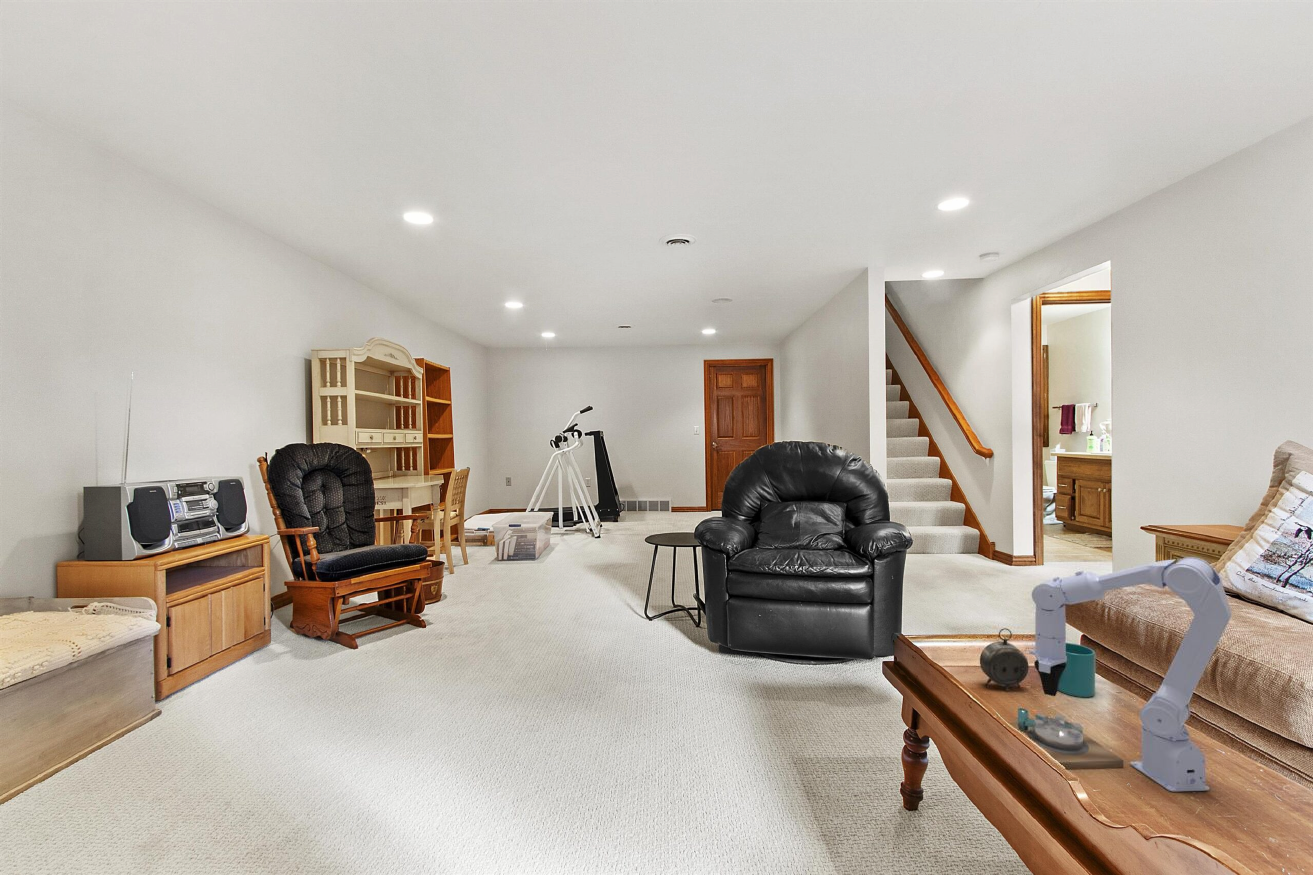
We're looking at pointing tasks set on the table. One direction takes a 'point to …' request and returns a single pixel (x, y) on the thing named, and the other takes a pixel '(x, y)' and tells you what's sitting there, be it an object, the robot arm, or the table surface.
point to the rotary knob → (1052, 730)
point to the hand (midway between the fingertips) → (1050, 694)
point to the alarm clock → (1004, 663)
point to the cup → (1078, 671)
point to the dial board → (1079, 753)
